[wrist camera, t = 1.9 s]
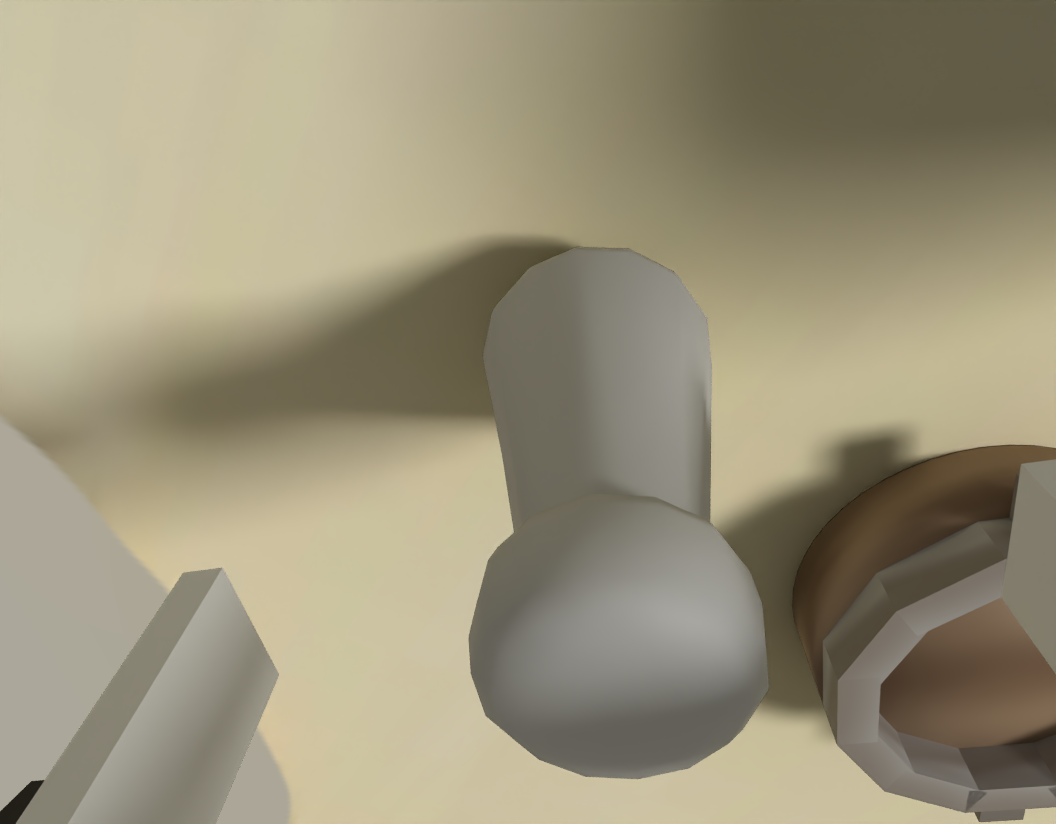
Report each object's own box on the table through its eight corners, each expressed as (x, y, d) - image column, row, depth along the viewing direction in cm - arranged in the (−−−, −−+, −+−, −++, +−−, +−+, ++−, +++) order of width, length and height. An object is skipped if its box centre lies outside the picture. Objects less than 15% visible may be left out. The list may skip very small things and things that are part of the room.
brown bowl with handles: (786, 438, 23) (831, 534, 19) (1207, 381, 21) (1352, 473, 17) (796, 731, 29) (829, 845, 26) (1112, 706, 28) (1199, 824, 24)
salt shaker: (599, 441, 23) (625, 882, 12) (452, 332, 21) (319, 725, 10) (741, 309, 20) (943, 709, 9) (587, 174, 19) (608, 462, 8)
